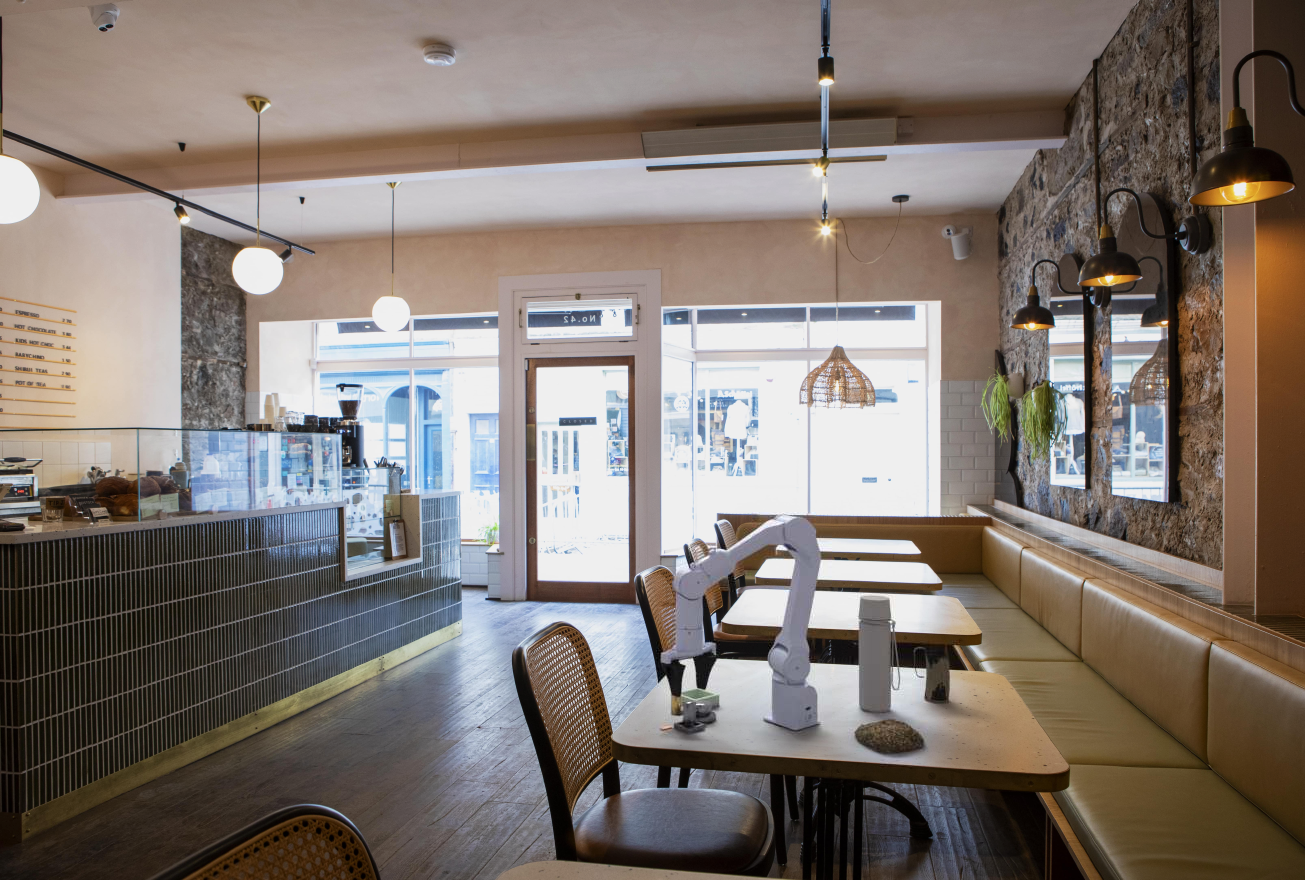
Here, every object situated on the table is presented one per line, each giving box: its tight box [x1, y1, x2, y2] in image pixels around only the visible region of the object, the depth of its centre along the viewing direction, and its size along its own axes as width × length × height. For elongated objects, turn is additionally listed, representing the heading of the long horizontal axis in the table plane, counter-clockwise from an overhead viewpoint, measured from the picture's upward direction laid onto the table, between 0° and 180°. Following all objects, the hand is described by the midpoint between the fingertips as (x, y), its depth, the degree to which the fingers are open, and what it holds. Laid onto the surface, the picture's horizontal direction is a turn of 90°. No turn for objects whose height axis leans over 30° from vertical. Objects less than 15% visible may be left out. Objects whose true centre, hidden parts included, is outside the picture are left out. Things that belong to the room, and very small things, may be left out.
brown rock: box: [854, 718, 925, 754], centre depth 169 cm, size 13×12×5 cm
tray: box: [681, 687, 720, 709], centre depth 193 cm, size 7×7×2 cm
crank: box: [670, 694, 712, 717], centre depth 181 cm, size 11×5×6 cm, turn 131°
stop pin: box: [682, 701, 696, 728], centre depth 177 cm, size 3×3×6 cm
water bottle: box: [857, 594, 901, 714], centre depth 190 cm, size 9×8×25 cm
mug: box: [913, 646, 951, 705], centre depth 197 cm, size 8×6×12 cm
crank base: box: [659, 710, 717, 735], centre depth 180 cm, size 9×14×1 cm, turn 128°
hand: (688, 692), depth 177 cm, fingers open, 7 cm apart
